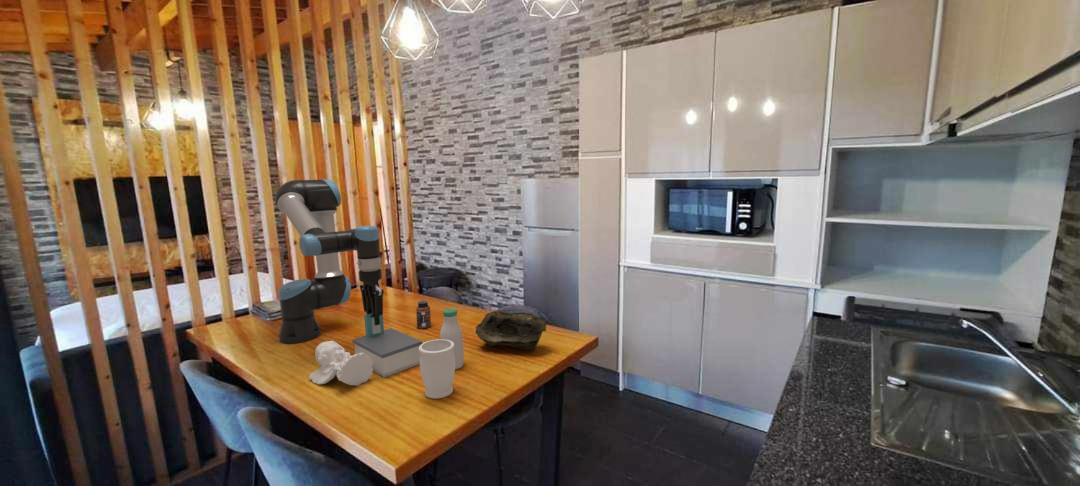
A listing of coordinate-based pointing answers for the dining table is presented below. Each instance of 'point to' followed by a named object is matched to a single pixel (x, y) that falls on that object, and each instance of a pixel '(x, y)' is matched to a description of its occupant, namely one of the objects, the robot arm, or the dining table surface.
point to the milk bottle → (453, 335)
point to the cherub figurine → (340, 365)
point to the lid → (384, 340)
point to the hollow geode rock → (511, 330)
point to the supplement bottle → (423, 315)
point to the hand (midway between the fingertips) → (374, 332)
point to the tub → (392, 361)
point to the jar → (437, 367)
